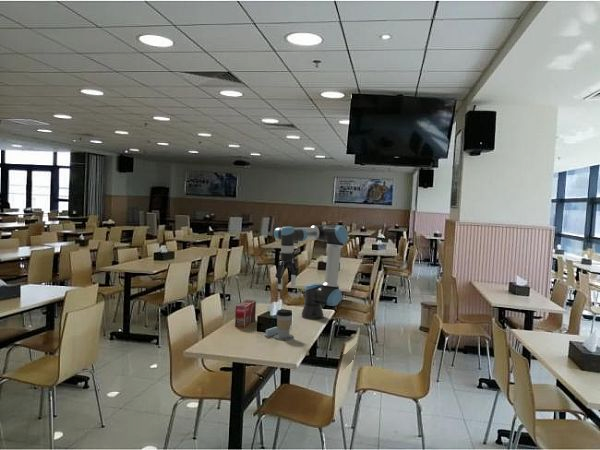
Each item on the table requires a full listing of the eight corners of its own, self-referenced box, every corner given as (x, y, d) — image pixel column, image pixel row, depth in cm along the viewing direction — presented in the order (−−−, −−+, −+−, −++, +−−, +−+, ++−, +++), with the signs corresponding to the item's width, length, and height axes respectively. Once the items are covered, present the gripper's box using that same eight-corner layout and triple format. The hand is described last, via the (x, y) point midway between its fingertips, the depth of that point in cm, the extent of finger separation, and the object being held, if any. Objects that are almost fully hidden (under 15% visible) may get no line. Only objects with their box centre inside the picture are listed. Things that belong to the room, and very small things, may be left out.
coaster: (281, 333, 283) (281, 332, 283) (297, 337, 276) (297, 336, 276) (268, 337, 273) (268, 336, 273) (285, 341, 266) (285, 340, 266)
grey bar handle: (280, 330, 288) (281, 324, 288) (284, 331, 286) (285, 325, 286) (264, 336, 275) (264, 329, 275) (268, 337, 273) (268, 330, 273)
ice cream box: (244, 328, 292) (245, 306, 292) (235, 327, 294) (235, 305, 293) (255, 320, 312) (255, 300, 311) (246, 319, 313) (246, 299, 313)
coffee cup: (288, 339, 269) (289, 313, 268) (272, 337, 272) (273, 311, 271) (293, 335, 277) (294, 310, 277) (278, 333, 281) (279, 308, 280)
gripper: (294, 249, 294) (293, 283, 296) (269, 253, 274) (269, 289, 275) (303, 250, 290) (303, 284, 292) (280, 255, 270) (279, 291, 271)
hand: (286, 287), depth 284 cm, fingers open, 13 cm apart
